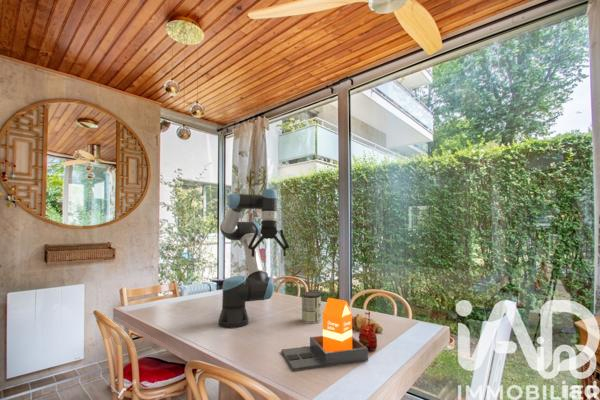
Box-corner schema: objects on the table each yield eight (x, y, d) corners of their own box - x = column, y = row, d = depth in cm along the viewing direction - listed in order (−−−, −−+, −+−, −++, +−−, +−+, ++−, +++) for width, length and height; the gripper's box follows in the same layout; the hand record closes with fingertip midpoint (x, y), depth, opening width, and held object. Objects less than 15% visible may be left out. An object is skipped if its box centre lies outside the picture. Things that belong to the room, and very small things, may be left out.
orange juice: (333, 346, 125) (333, 296, 127) (352, 351, 120) (352, 299, 121) (322, 352, 119) (322, 299, 121) (342, 358, 114) (341, 302, 115)
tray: (293, 371, 105) (293, 357, 106) (281, 352, 122) (281, 340, 122) (368, 360, 114) (367, 348, 114) (347, 344, 130) (347, 333, 130)
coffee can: (302, 317, 168) (302, 291, 170) (321, 318, 167) (321, 291, 169) (300, 323, 158) (300, 295, 159) (320, 324, 157) (320, 295, 158)
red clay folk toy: (355, 348, 125) (355, 310, 127) (364, 343, 131) (363, 307, 132) (372, 353, 121) (371, 314, 122) (380, 348, 126) (379, 310, 127)
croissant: (384, 338, 146) (387, 321, 150) (378, 334, 139) (381, 316, 143) (344, 329, 158) (347, 313, 161) (336, 324, 151) (340, 308, 154)
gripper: (244, 219, 145) (243, 265, 143) (295, 220, 153) (295, 263, 151) (242, 219, 152) (242, 263, 151) (291, 220, 160) (291, 261, 158)
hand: (268, 263), depth 151 cm, fingers open, 13 cm apart
